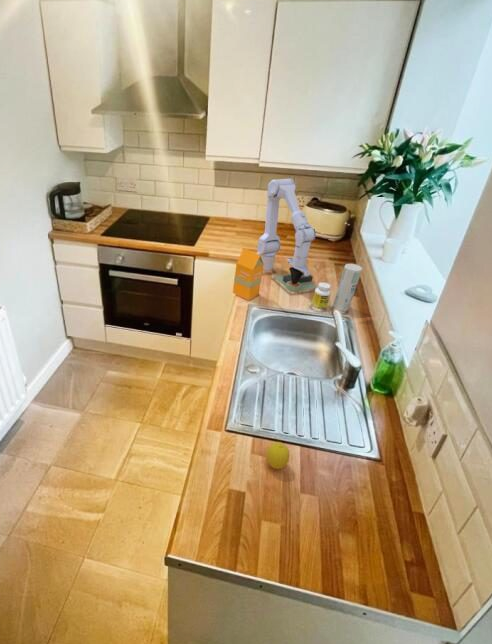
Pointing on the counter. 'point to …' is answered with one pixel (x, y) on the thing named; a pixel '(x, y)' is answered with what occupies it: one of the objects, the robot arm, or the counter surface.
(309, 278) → the remote
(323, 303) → the pill bottle
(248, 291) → the orange juice
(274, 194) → the robot arm
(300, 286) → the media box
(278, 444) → the lemon
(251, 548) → the counter surface
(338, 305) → the spray can
